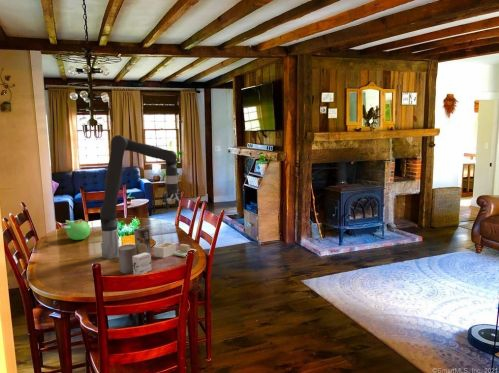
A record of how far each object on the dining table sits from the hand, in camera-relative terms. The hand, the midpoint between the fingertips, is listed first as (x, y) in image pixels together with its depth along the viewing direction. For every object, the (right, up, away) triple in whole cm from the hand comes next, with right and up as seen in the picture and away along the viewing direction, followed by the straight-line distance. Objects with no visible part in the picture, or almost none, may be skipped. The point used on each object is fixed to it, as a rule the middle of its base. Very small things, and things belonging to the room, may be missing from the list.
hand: (172, 207), depth 250 cm
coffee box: (-18, -29, -2) cm, 34 cm away
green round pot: (-75, -25, +35) cm, 86 cm away
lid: (+9, -28, -3) cm, 29 cm away
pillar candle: (-18, -33, -31) cm, 49 cm away
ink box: (-8, -34, -39) cm, 53 cm away
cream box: (-4, -29, -4) cm, 29 cm away
